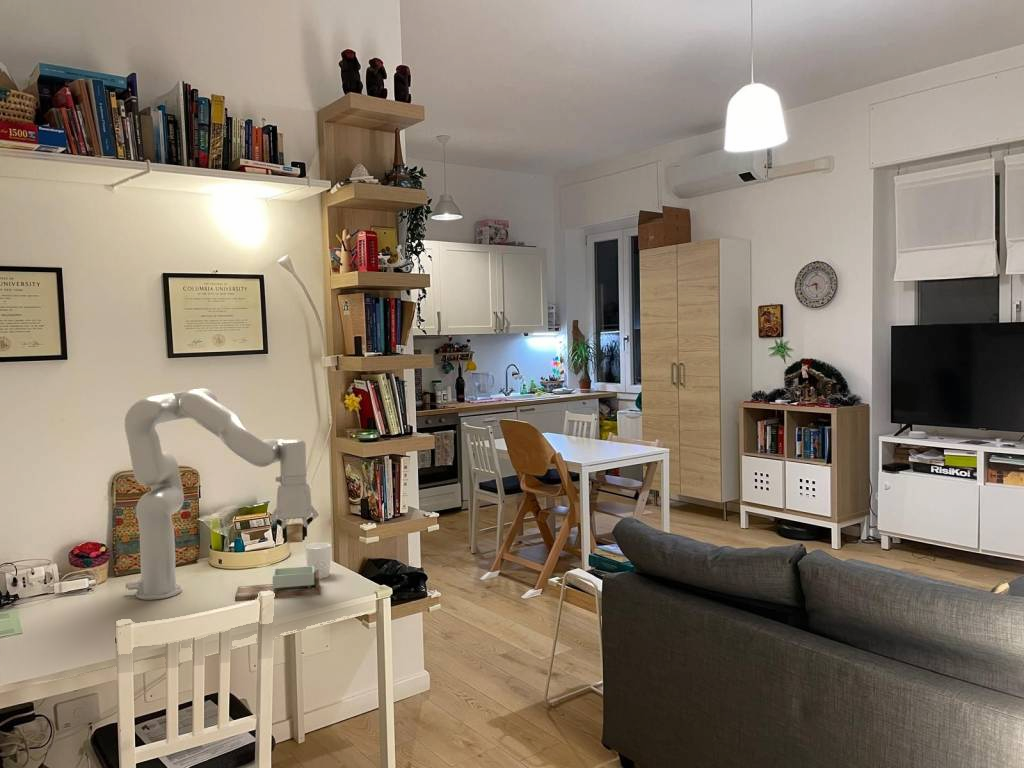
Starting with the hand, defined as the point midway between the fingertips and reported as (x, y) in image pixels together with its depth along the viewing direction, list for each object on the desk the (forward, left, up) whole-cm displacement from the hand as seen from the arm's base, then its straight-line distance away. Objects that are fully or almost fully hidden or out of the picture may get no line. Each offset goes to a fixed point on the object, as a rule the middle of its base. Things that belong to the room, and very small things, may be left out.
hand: (295, 539), depth 235 cm
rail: (-5, 0, -16) cm, 17 cm away
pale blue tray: (-1, 0, -15) cm, 15 cm away
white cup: (+7, +14, -16) cm, 22 cm away
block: (0, 0, 0) cm, 0 cm away
